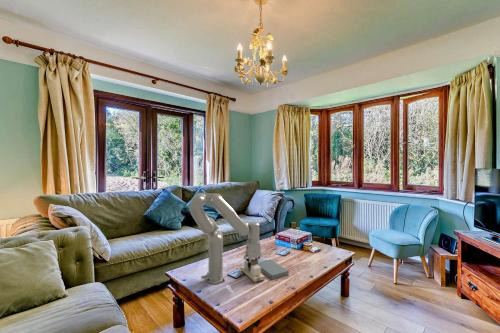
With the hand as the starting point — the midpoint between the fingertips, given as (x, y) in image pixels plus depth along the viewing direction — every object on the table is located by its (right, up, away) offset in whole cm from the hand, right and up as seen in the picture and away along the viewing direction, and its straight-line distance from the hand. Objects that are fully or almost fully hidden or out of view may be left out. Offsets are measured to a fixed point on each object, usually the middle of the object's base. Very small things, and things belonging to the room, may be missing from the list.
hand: (252, 266), depth 158 cm
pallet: (0, -5, 0) cm, 5 cm away
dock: (+14, -7, +8) cm, 17 cm away
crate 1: (-2, -3, +4) cm, 6 cm away
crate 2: (+2, -3, -4) cm, 5 cm away
